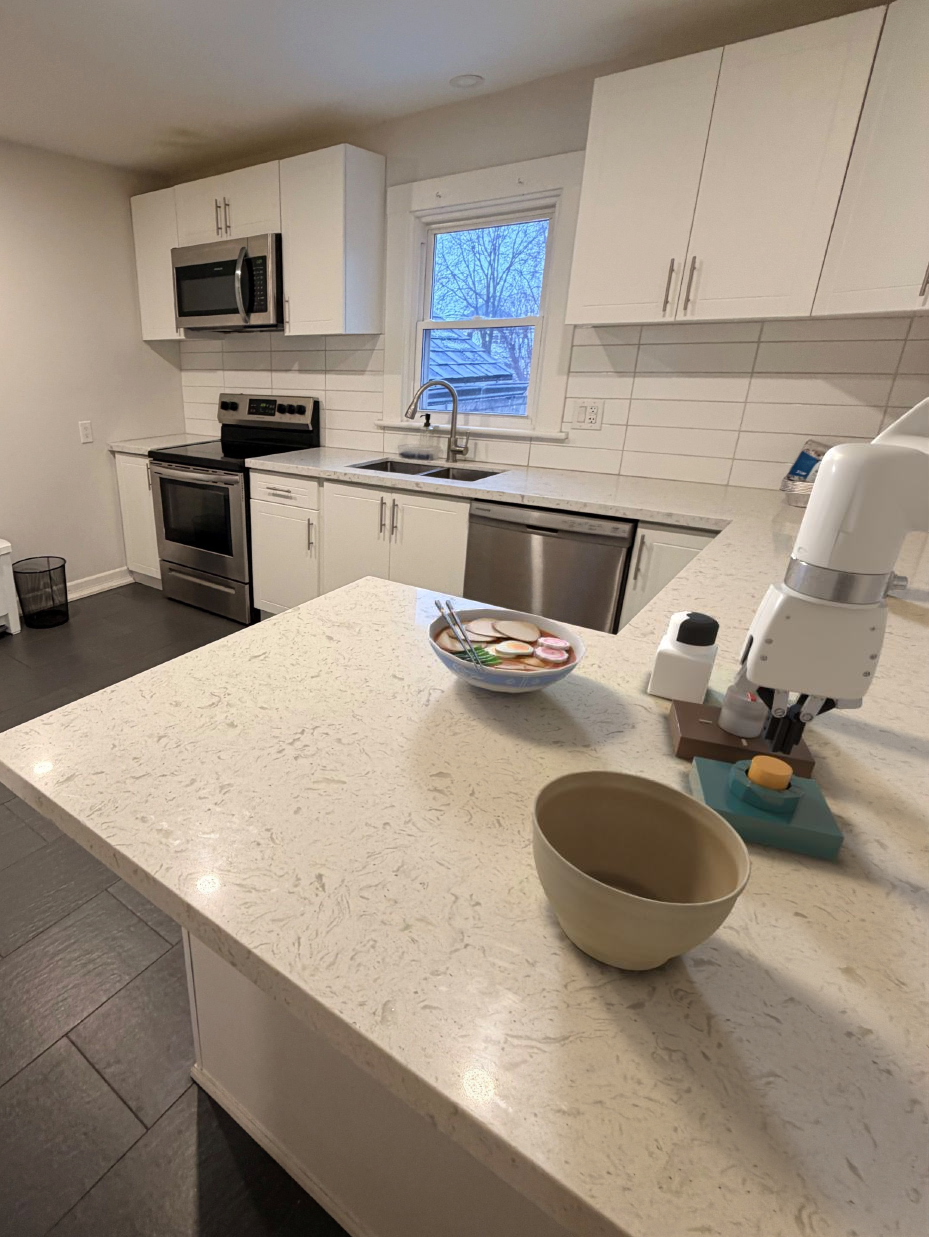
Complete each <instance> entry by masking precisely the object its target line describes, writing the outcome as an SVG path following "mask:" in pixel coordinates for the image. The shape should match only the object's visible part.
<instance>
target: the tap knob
mask: <svg viewBox="0 0 929 1237" xmlns="http://www.w3.org/2000/svg"><path fill="white" fill-rule="evenodd" d="M721 708H722V709H721V713H720V716H719V719H718V725H719V726H720V727H721V728H722V729H723V730H725V731H727V732H729V733H731V734H733V735H737V736H740V737H747V738H753V737H757V736H759V735H760V733H761V730H762V727H763V724H764V721H765V717H766V715H767V713H768V710H769V708H768V707H767V706H766V705H765V703H764V702H763V701H762V700H761V699H760V697H759V696H757V695H753V694H750V693H748V692H745V691H742V690H740V689H738V688H737V687H736V686H735V683H734V684H731V685H729V686H728V687H727V689H726V692H725V696H724V700H723V702H722V706H721Z"/></svg>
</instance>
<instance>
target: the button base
mask: <svg viewBox="0 0 929 1237" xmlns="http://www.w3.org/2000/svg"><path fill="white" fill-rule="evenodd" d="M751 762H752V760H743V761H738V762H736V763H735V764H731V763H726V762H721V761H716V760H711V759H706V758H701V757H696V756H694V759H693V760H692V763H691V766H690V770H689V773H688V776H687V777H688V782H689V786H690V791H691V796H693V797H694V798H696V799H698V800H699V801H701V802H703V803H704V804H706V805H707V806H709V807H710V808H711V809H713V810H714V811H716V812H717V813H718V814H719V815H720V816H722V817H723V818H724V819H725V820H726V821H727V822H728V823H729V824H730V825H731V826H732V827H733V828H734V830H735V831H736V832H737V833H738V834H739V836H740V837H741V839H742V840H743V841H747V842H751V843H756V844H760V845H764V846H769V847H772V848H778V849H781V850H786V851H790V852H795V853H799V854H802V855H803V854H804V855H806V856H807V855H808V856H812V857H817V858H820V859H825V860H829V861H833V862H835V861H836V860H837V857H838V854H839V853H840V851H841V848H842V845H843V843H844V840H845V835H844V834H843V832H842V830H841V828H840V826H839V824H838V822H837V820H836V818H835V816H834V813H833V812H832V811H831V808H830V806H829V804H828V802H827V801H826V799H825V796H824V794H823V792H822V790H821V788H820V786H819V784H818V783H817V780H815V779H812V778H810V779H807V778H802V777H796V776H795V775H793V774H792V776H791V778H790V781H789V784H788V787H787V789H786V790H779V791H778V790H773V789H768V788H765V787H763V786H761V785H758V784H756V783H754V782H753V781H752V780H750V779H749V778H748V771H749V768H750V765H751Z"/></svg>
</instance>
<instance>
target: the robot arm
mask: <svg viewBox="0 0 929 1237" xmlns="http://www.w3.org/2000/svg"><path fill="white" fill-rule="evenodd" d="M912 532H920V533H927V534H929V396H927V397H926V398H924V399H923V400H921V401H920V402H919V403H917V404H916V405H914V406H913V407H912V408H911V409H910V410H908V411H907V412H906V413H904V414H903V415H902V416H900V418H898V419H897V420H895V421H894V422H893V423H892V424H891V425H889V426H888V427H887V428H886V429H885V430H883V431H882V432H881V433H880V434H879V435H878V436H876V437H875V438H874V439H873V440H872V441H870V442H848V443H847V442H846V443H841V444H837V445H835V446H833V447H831V448H830V449H828V450H827V451H826V453H824V455H823V457H822V459H821V462H820V464H819V467H818V470H817V474H816V477H815V480H814V482H813V486H812V490H811V493H810V496H809V497H808V502H807V505H806V508H805V512H804V514H803V518H802V520H801V524H800V528H799V530H798V534H797V537H796V540H795V543H794V546H793V550H792V554H791V556H790V559H789V561H788V564H787V567H786V568H787V569H786V572H785V574H784V578H783V581H775V582H772V584H770V587H769V588H768V590H767V592H766V593H765V594H764V597H763V598H762V600H761V602H760V604H759V606H758V609H757V611H756V613H755V615H754V617H753V619H752V622H751V624H750V626H749V629H748V632H747V634H746V636H745V639H744V641H743V644H742V647H741V651H740V652H739V653H740V654H739V659H738V661H739V664H740V665H741V667H740V668H739V670H738V672H737V673H736V674H735V676H734V677H733V683H734V684H735V686H736V687H737V688H738V689H740V690H742V691H745V692H748V693H750V694H753V695H757V696H759V697H760V699H761V700H762V701H763V702H764V703H765V705H766V706H767V707H768V711H767V714H766V715H767V716H766V719H765V722H764V725H763V728H762V732H761V735H762V738H763V739H765V740H766V742H767V744H768V747H769V749H770V751H771V752H775V753H777V752H782V754H785V755H790V753H791V750H792V747H793V745H798V744H799V742H800V740H801V737H803V734H804V731H805V728H806V726H807V724H809V723H812V722H813V721H814V720H815V718H816V717H818V716H820V715H822V714H825V713H827V712H830V711H832V710H834V709H836V710H857V709H860V708H861V707H862V706H863V698H864V697H865V696H866V694H868V692H869V690H870V688H871V686H872V683H873V681H874V678H875V674H876V672H877V668H878V665H879V661H880V659H881V654H882V650H883V645H884V642H885V635H886V628H887V621H888V614H889V613H888V612H889V604H888V603H887V601H886V598H887V596H888V594H889V592H894V591H898V592H899V591H901V592H904V591H905V590H906V589H907V587H908V584H909V578H908V577H907V576H904V575H898V573H896V572H895V571H894V568H895V566H896V563H897V560H898V557H899V555H900V553H901V550H902V547H903V544H904V542H905V540H906V537H907V535H908V534H910V533H912ZM751 646H752V647H751ZM790 692H791V693H796V694H797V696H796V698H795V699H794V701H793V703H792V705H790V706H788V705H789V697H790Z"/></svg>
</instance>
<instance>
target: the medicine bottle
mask: <svg viewBox="0 0 929 1237" xmlns="http://www.w3.org/2000/svg"><path fill="white" fill-rule="evenodd" d="M719 629H720V624H719V621H717V620H716V619H715V618H714V617H711V616H710V615H708V614H705V613H702V612H698V611H697V612H696V611H679V612H675V613H674V614H672V616H671V617H670V621H669V625H668V628H667V633H666V634H665V635H663V637H662V639H661V641H660V644H659V645H658V648H657V650H656V654H655V656H654V657H655V659H654V663H653V665H652V671H651V675H650V678H649V683H648V686H647V694H649V695H652V696H656V697H660V698H665V699H668V700H671V701H672V700H673V699H675V700H681V701H686V702H692V703H698V704H704V701H705V697H706V694H707V691H708V686H709V683H710V679H711V676H712V672H713V669H714V665H715V662H716V658H717V654H718V650H719V647H718V645H716V640H717V637H718V634H719Z"/></svg>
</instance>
